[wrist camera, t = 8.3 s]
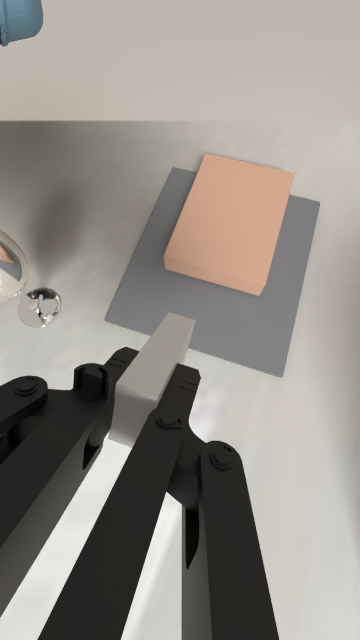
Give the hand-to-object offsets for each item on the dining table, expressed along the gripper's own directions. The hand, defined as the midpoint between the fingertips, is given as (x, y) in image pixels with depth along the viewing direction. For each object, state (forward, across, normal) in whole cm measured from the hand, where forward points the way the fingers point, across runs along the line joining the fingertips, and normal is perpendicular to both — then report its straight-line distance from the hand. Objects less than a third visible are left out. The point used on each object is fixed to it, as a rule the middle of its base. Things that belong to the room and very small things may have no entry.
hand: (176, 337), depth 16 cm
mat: (+18, 0, +1) cm, 18 cm away
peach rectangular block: (+14, 0, 0) cm, 14 cm away
